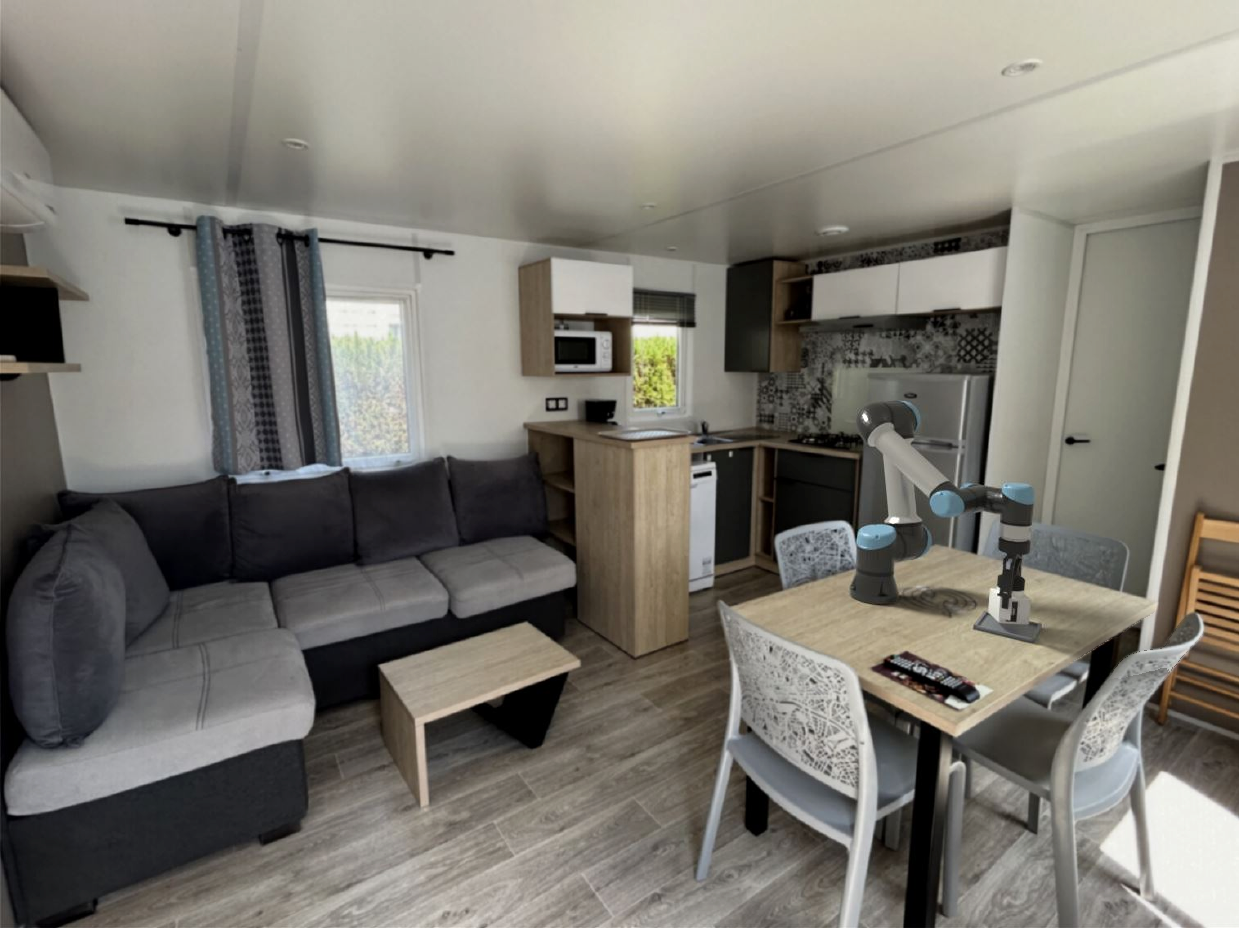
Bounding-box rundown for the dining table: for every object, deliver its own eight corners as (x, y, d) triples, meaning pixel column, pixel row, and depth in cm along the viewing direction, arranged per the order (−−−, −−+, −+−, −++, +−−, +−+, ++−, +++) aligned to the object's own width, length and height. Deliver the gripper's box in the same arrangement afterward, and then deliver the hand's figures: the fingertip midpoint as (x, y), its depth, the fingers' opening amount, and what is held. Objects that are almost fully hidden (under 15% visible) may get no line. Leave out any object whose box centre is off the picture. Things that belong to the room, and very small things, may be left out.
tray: (973, 629, 169) (973, 625, 169) (983, 614, 178) (984, 610, 178) (1033, 644, 159) (1034, 639, 159) (1041, 627, 169) (1042, 623, 169)
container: (1029, 625, 164) (1033, 580, 162) (998, 623, 165) (1002, 579, 163) (1016, 614, 171) (1020, 571, 169) (987, 612, 173) (990, 570, 171)
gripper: (1023, 550, 154) (1016, 629, 157) (1037, 531, 170) (1031, 604, 174) (990, 544, 159) (984, 622, 162) (1007, 527, 175) (1001, 598, 179)
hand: (1008, 612), depth 168 cm, fingers closed on container, 10 cm apart
